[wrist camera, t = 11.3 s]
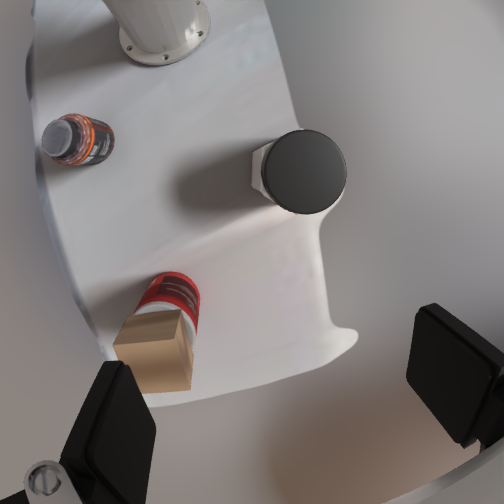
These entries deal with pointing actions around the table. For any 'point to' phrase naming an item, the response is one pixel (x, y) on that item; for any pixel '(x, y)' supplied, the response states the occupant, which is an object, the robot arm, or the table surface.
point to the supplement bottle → (78, 140)
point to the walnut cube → (157, 351)
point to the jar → (300, 171)
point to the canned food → (173, 299)
